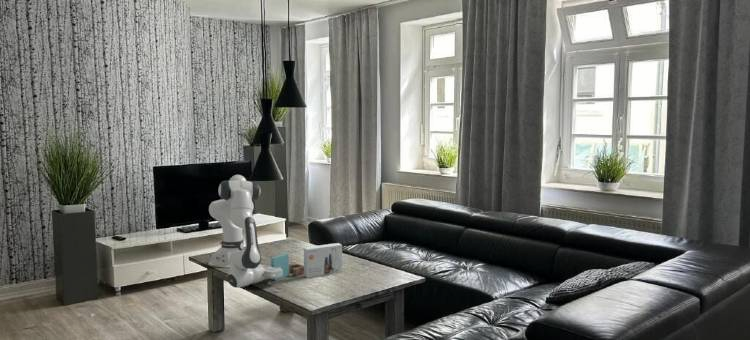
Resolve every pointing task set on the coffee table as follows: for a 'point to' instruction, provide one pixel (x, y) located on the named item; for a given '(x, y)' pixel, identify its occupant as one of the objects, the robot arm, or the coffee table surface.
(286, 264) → the teal rectangular block
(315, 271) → the skincare box
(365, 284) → the coffee table surface
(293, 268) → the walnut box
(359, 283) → the coffee table surface
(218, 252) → the robot arm
